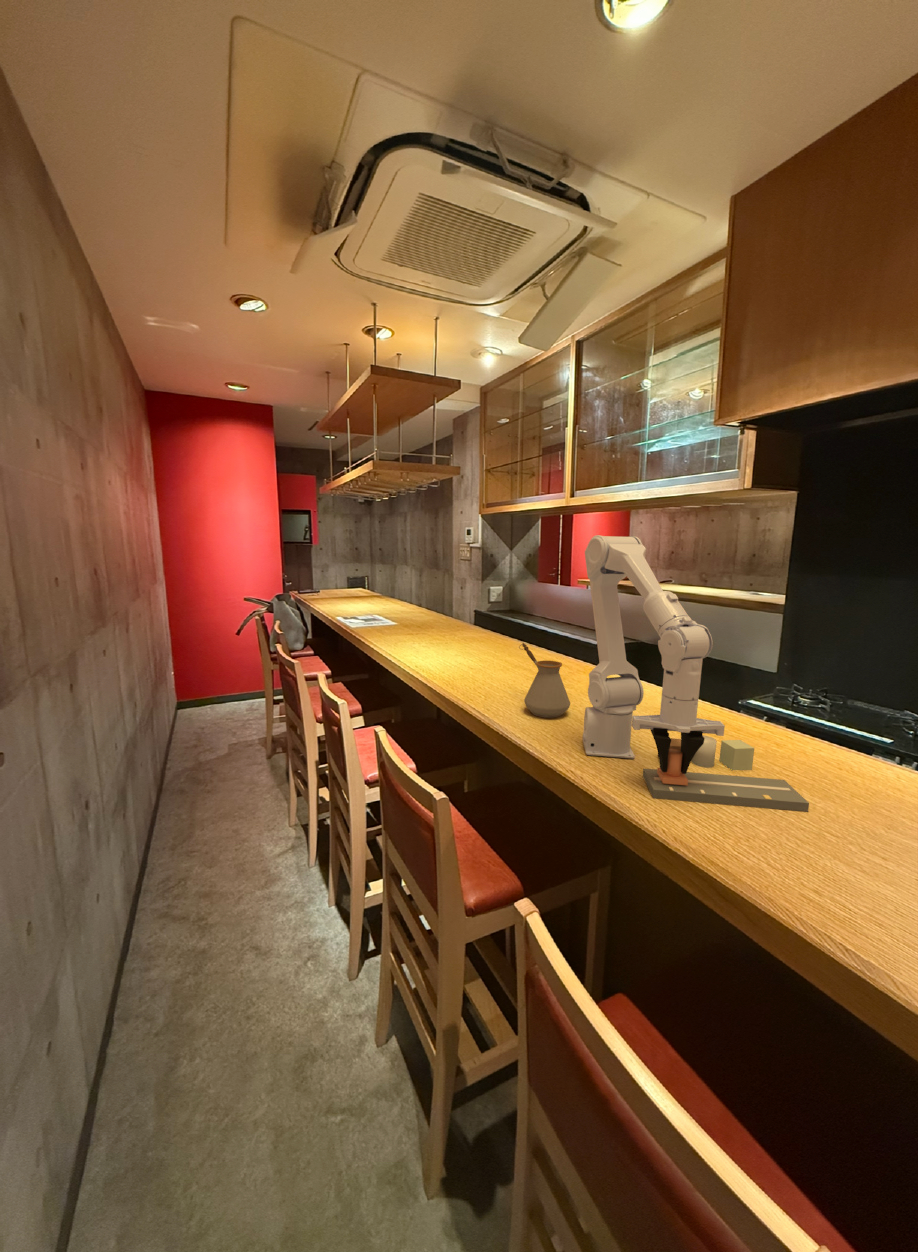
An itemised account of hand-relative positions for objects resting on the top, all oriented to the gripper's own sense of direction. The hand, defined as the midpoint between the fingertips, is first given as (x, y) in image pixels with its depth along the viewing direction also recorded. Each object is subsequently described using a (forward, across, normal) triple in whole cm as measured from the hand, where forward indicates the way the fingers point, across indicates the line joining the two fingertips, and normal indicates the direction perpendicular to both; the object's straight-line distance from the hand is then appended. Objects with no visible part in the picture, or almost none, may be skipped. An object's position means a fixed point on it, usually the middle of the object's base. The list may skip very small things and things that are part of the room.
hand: (672, 770), depth 85 cm
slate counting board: (+3, +8, 0) cm, 9 cm away
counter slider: (+2, 0, 0) cm, 2 cm away
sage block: (+3, +15, +12) cm, 20 cm away
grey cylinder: (+3, +9, +12) cm, 15 cm away
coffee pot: (+4, -23, +40) cm, 46 cm away
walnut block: (+3, +3, +12) cm, 13 cm away
